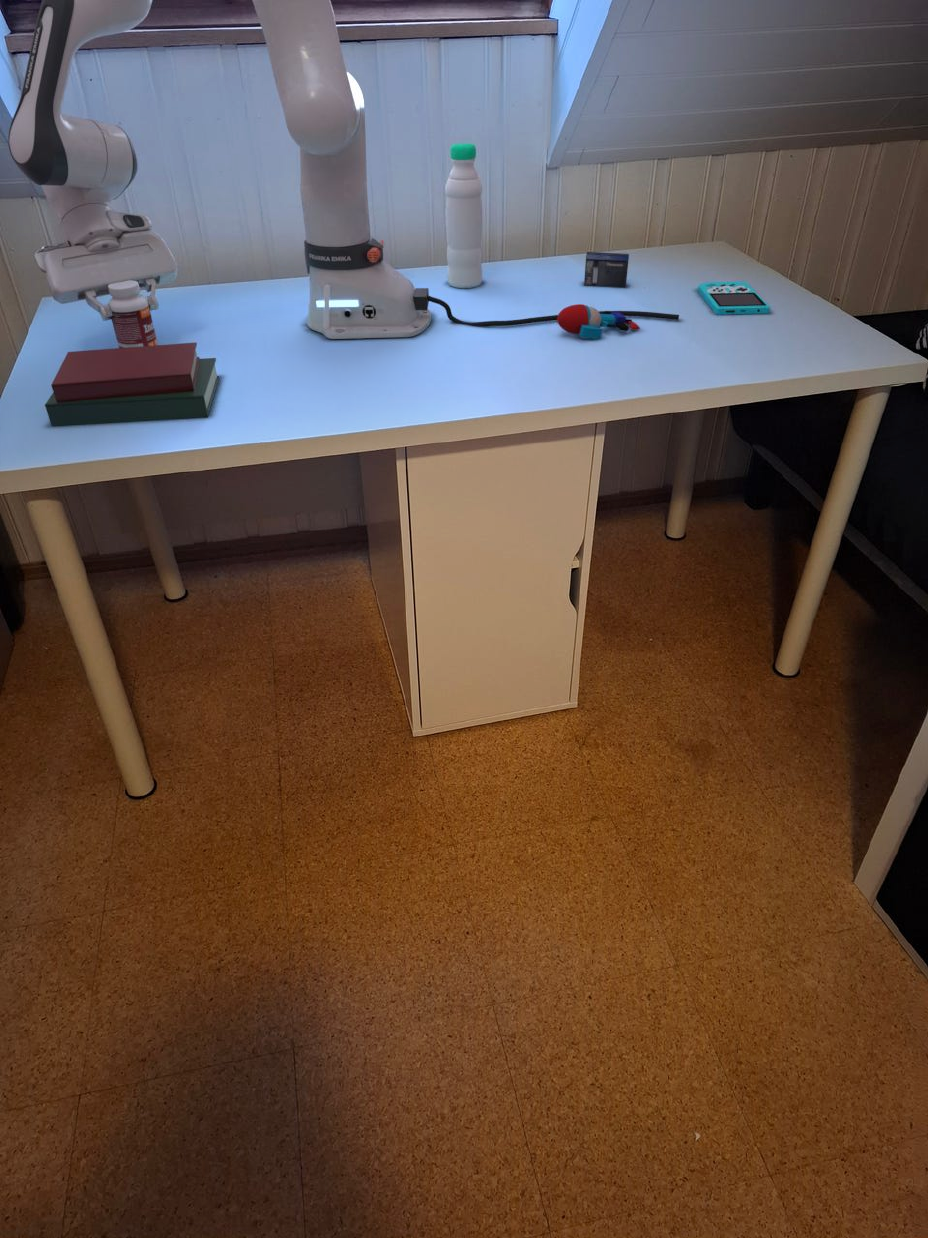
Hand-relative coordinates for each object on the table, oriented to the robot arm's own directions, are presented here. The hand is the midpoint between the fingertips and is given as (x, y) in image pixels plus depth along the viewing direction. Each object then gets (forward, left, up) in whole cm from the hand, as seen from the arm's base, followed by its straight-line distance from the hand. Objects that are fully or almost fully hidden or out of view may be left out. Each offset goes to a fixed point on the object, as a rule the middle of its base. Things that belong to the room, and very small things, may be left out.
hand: (131, 313), depth 140 cm
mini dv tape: (-75, -48, -8) cm, 90 cm away
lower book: (-7, +17, -7) cm, 20 cm away
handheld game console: (-99, -41, -8) cm, 108 cm away
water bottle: (-47, -46, -8) cm, 67 cm away
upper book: (-7, +16, -4) cm, 18 cm away
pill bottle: (0, 0, -7) cm, 7 cm away
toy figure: (-74, -21, -8) cm, 78 cm away
